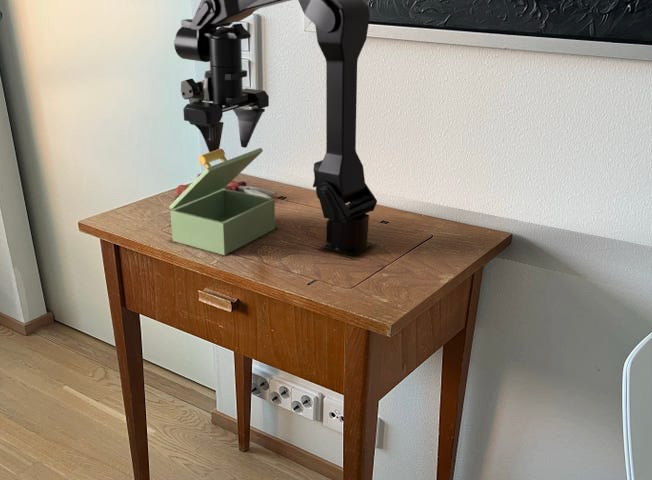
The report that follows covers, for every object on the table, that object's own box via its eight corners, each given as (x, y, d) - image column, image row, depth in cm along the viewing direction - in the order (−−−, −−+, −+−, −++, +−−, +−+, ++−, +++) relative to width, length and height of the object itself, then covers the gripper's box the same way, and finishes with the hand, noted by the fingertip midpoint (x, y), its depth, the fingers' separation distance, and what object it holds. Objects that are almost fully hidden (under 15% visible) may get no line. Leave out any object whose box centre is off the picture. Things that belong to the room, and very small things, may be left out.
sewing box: (275, 228, 137) (274, 199, 135) (224, 255, 126) (223, 223, 124) (224, 216, 143) (223, 188, 140) (172, 241, 132) (170, 210, 129)
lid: (263, 150, 131) (249, 129, 131) (209, 171, 120) (193, 148, 120) (224, 187, 140) (211, 168, 140) (170, 210, 129) (156, 188, 129)
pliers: (262, 209, 147) (262, 196, 145) (174, 197, 153) (173, 185, 152) (284, 193, 156) (284, 181, 154) (200, 182, 162) (199, 170, 161)
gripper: (222, 54, 141) (226, 136, 149) (156, 68, 128) (164, 157, 136) (270, 59, 136) (270, 144, 144) (206, 74, 122) (211, 166, 130)
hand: (229, 152), depth 139 cm, fingers open, 9 cm apart
